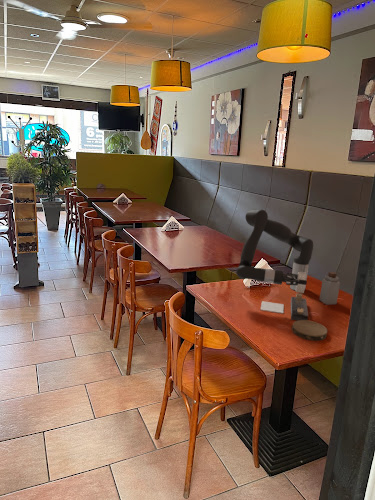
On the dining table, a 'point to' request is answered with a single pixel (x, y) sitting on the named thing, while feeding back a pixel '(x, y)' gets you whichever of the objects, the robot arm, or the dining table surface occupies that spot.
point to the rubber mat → (272, 307)
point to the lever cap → (300, 286)
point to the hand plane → (299, 308)
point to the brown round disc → (309, 330)
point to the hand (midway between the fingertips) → (306, 281)
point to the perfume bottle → (330, 289)
